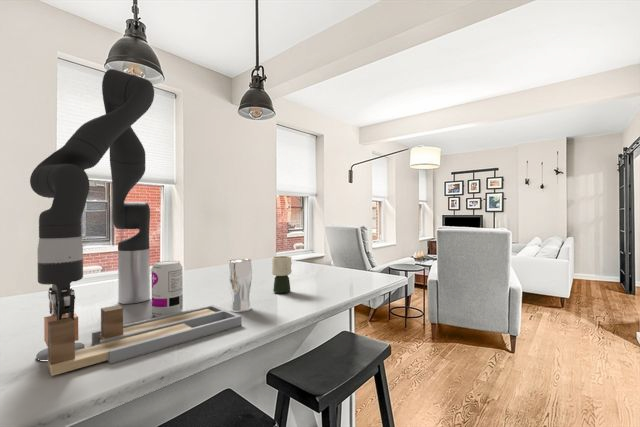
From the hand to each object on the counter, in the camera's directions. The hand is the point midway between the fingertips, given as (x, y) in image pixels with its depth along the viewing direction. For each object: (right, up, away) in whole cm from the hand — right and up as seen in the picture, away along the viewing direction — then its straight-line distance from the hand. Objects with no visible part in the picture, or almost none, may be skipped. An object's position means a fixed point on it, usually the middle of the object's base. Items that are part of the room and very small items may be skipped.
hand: (61, 338), depth 69 cm
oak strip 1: (+14, -3, +1) cm, 14 cm away
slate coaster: (0, -3, 0) cm, 3 cm away
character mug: (+41, -3, +51) cm, 65 cm away
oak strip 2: (+16, -3, +13) cm, 20 cm away
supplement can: (+10, -3, +26) cm, 28 cm away
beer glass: (+30, -3, +30) cm, 43 cm away
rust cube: (0, 0, 0) cm, 0 cm away
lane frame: (+18, -3, +10) cm, 21 cm away
